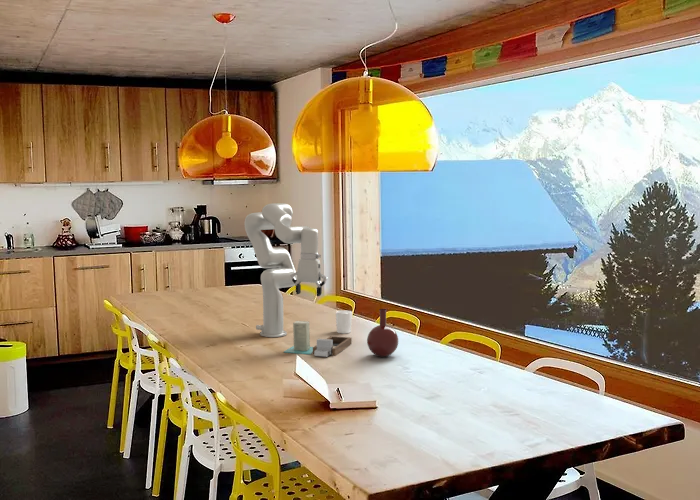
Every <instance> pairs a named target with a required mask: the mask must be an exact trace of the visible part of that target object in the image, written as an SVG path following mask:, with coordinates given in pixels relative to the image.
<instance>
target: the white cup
mask: <svg viewBox="0 0 700 500" xmlns="http://www.w3.org/2000/svg"><path fill="white" fill-rule="evenodd" d="M352 317H353V311H352V310H347V309H346V310H337V311H335V323H336V325H335V326H336V332H337V333H338V334H342V335H343V334H351V333H352V323H353V322H352V321H353V319H352Z"/></svg>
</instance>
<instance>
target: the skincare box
mask: <svg viewBox="0 0 700 500" xmlns="http://www.w3.org/2000/svg"><path fill="white" fill-rule="evenodd" d="M292 327H293V328H292V329H293V330H292V333H293V334H292V335H293V346H294V350H301V351H307V350H309V349H310V347H311V337H310V333H311V332H310V331H311V330H310V321H308V320H307V321H305V320H304V321H303V320H295V321H293V322H292Z"/></svg>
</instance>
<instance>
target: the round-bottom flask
mask: <svg viewBox="0 0 700 500" xmlns="http://www.w3.org/2000/svg"><path fill="white" fill-rule="evenodd" d="M378 311H379V325H376V326H374V327H373V328H372V329H371V330H370V331H369V333H368V335H367V339H366V342H367V343H366V344H367V347H368V349H369V351H370V352H371V353H372V354H374V355H375V356H377V357H382V358H384V357H389V356H391V355H392V354H393V353H395V352H396V351H397V349H398V346H399V336H398V334H397V332H396V330H395V329H394V328H392V327H391V326H389V325H387V311H388V309H387V308H380V309H379V310H378Z"/></svg>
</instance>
